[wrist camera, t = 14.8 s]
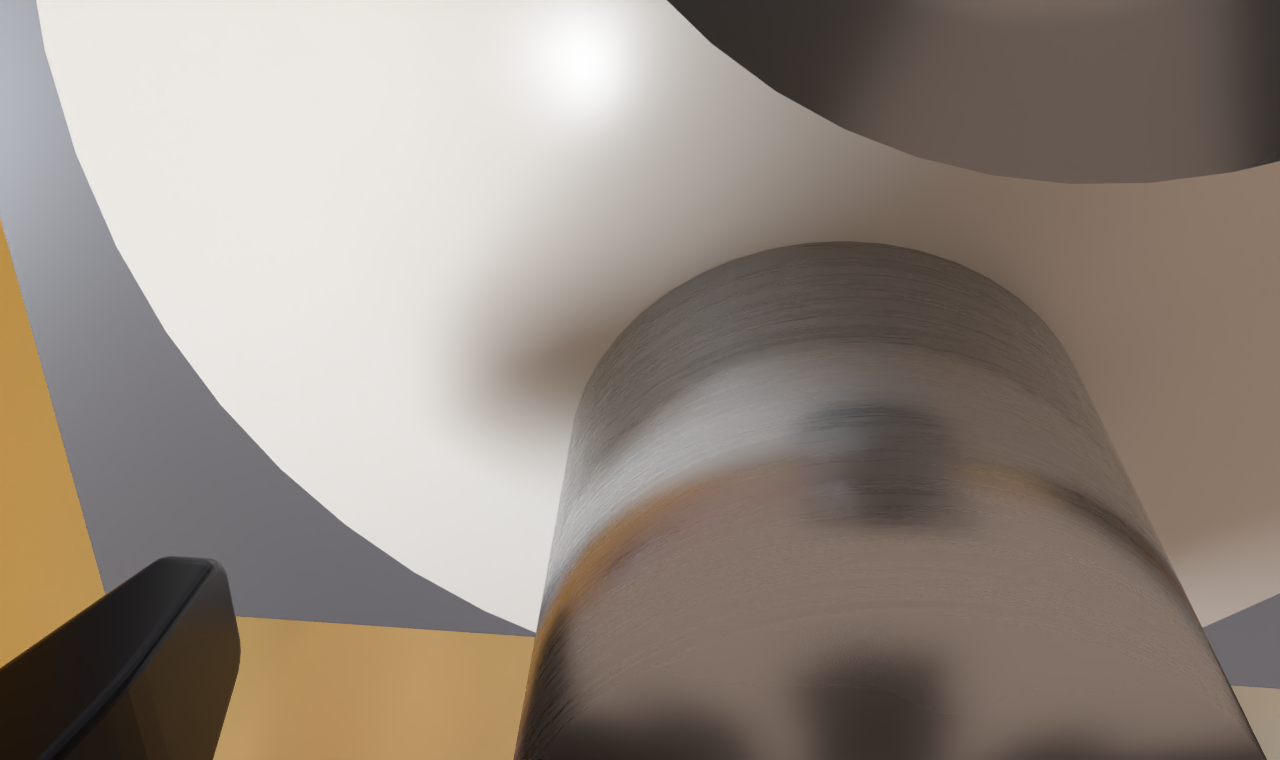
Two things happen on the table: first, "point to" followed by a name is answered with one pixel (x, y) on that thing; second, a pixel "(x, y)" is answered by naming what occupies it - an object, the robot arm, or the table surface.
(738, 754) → the cylinder
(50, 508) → the table surface
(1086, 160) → the cylinder
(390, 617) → the scale
